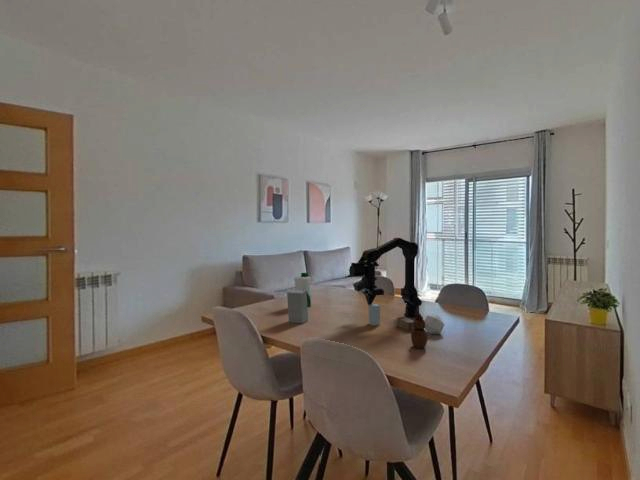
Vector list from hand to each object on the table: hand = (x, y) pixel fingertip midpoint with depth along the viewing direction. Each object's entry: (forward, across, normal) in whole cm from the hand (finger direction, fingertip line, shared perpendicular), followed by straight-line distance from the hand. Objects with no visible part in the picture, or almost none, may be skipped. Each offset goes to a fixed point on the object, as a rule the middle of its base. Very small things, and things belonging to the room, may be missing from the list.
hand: (369, 305), depth 173 cm
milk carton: (+8, -42, -22) cm, 48 cm away
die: (+8, +27, +18) cm, 33 cm away
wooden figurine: (+8, +39, +1) cm, 40 cm away
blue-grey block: (+8, +5, 0) cm, 9 cm away
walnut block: (+6, +11, +11) cm, 17 cm away
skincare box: (+8, -13, -34) cm, 37 cm away
